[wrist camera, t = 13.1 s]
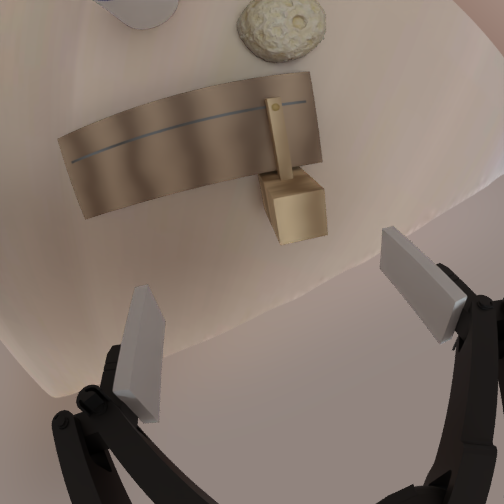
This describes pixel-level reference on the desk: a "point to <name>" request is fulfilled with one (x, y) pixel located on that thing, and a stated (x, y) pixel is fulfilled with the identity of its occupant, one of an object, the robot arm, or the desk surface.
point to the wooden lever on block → (290, 189)
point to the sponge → (282, 28)
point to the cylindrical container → (140, 11)
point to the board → (189, 142)
